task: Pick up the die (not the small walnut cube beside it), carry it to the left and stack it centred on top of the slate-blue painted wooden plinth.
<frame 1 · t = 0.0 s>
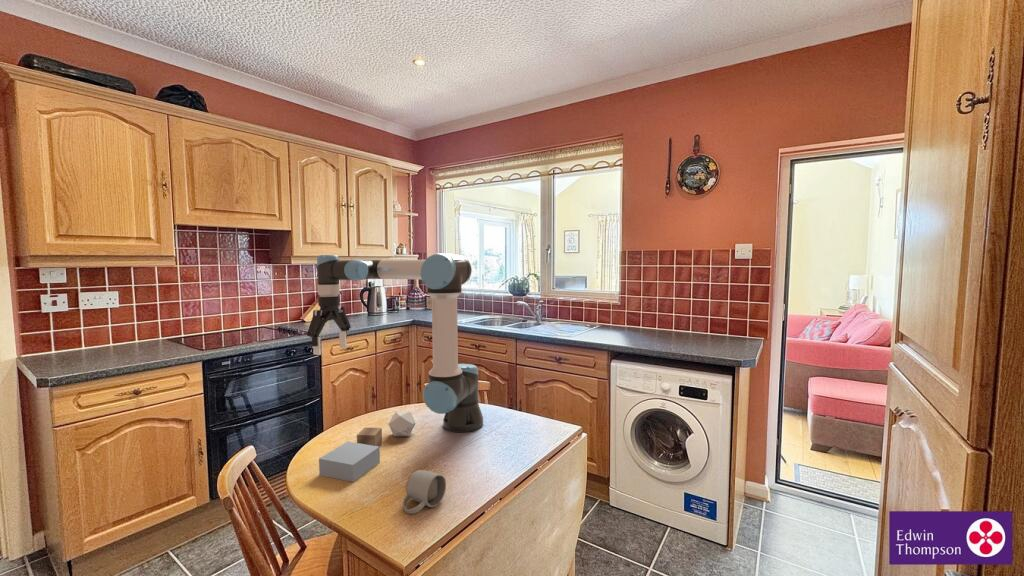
hand: (330, 350, 158), 28 cm above the table, fingers open, 13 cm apart
ceramic mug: (422, 504, 106), on the table
walnut cube: (369, 448, 137), on the table
die: (402, 435, 148), on the table
plinth: (350, 468, 124), on the table
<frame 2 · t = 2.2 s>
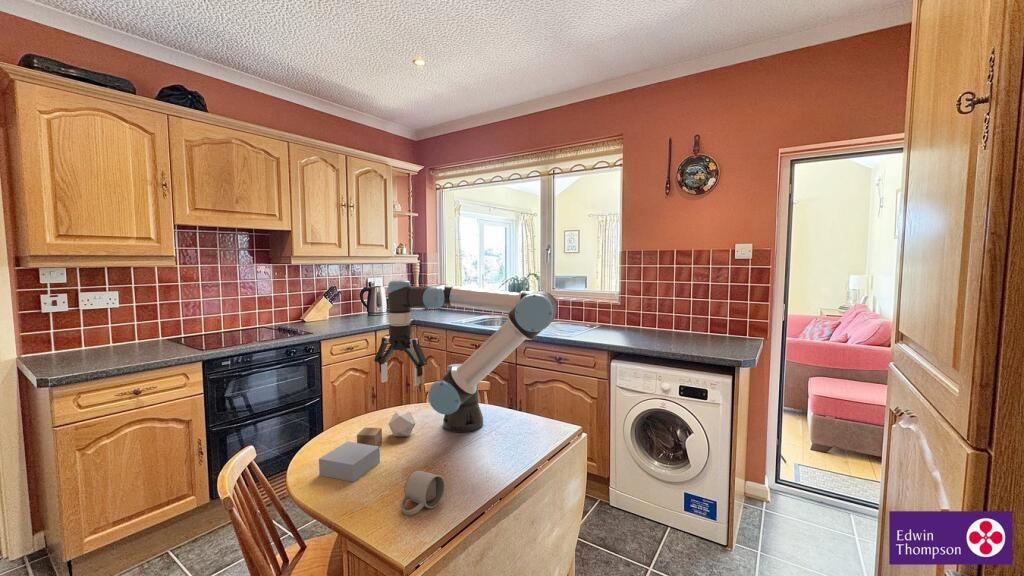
hand: (400, 383, 147), 19 cm above the table, fingers open, 13 cm apart
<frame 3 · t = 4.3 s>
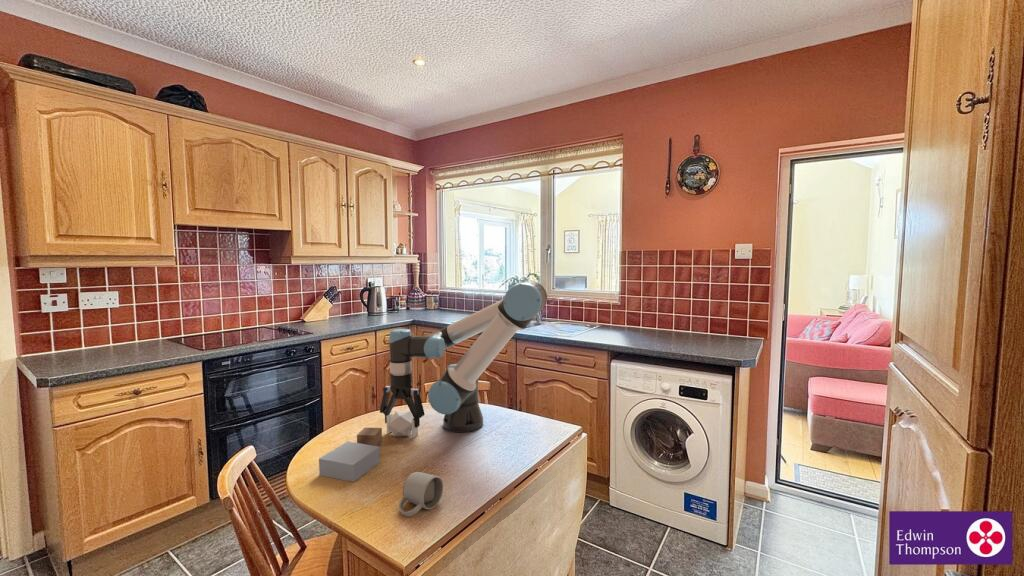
hand: (402, 433, 148), 0 cm above the table, fingers closed on die, 10 cm apart
die: (402, 435, 148), on the table, touching gripper
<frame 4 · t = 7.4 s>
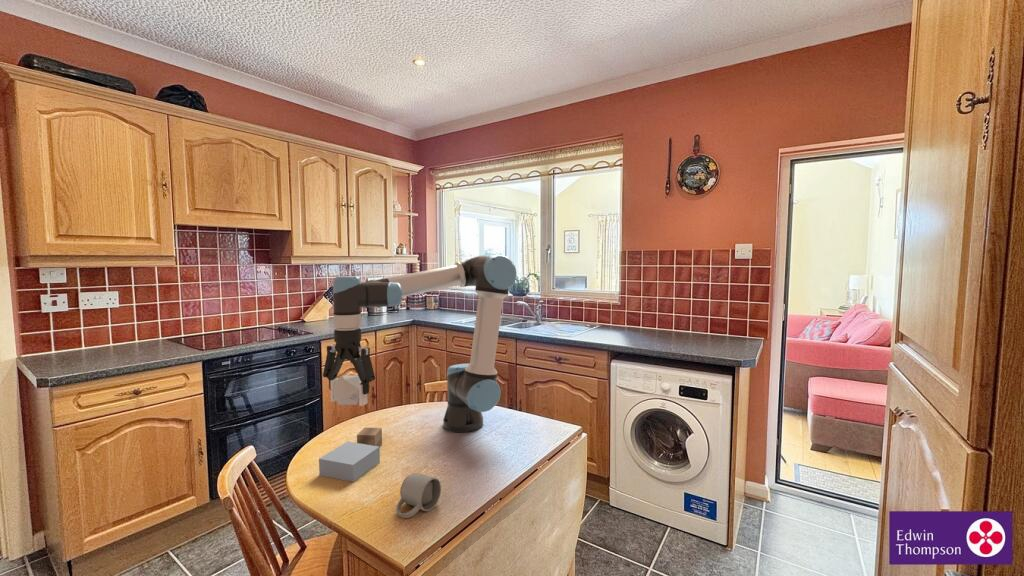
hand: (349, 402, 123), 20 cm above the table, fingers closed on die, 10 cm apart
die: (349, 403, 123), point 20 cm above the table, touching gripper
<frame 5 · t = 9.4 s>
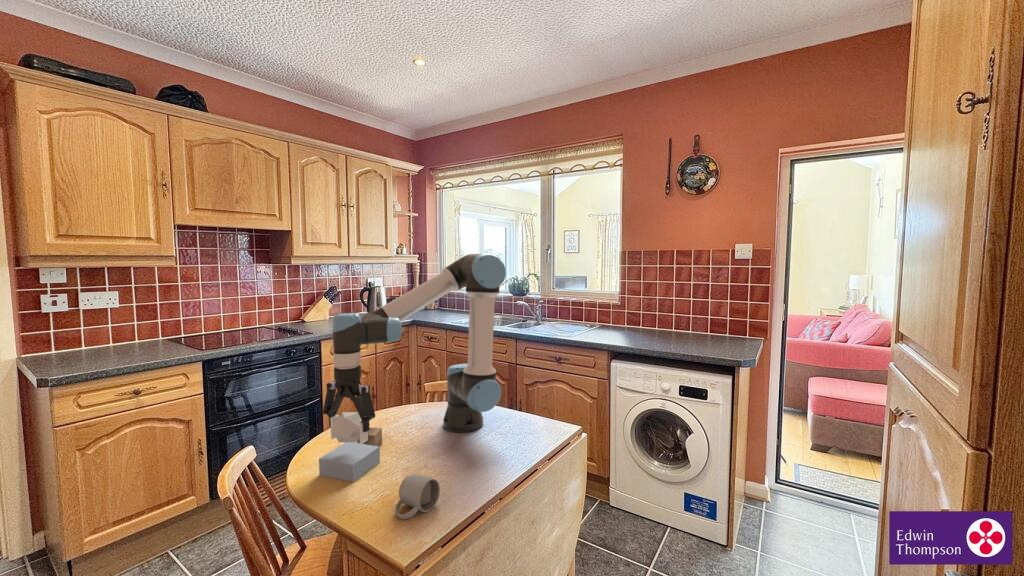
hand: (349, 439, 123), 9 cm above the table, fingers closed on die, 10 cm apart
die: (349, 440, 123), point 9 cm above the table, touching gripper
when the fingers open (7 cm above the table, at t = 10.9 s): die drops 1 cm, resting on plinth.
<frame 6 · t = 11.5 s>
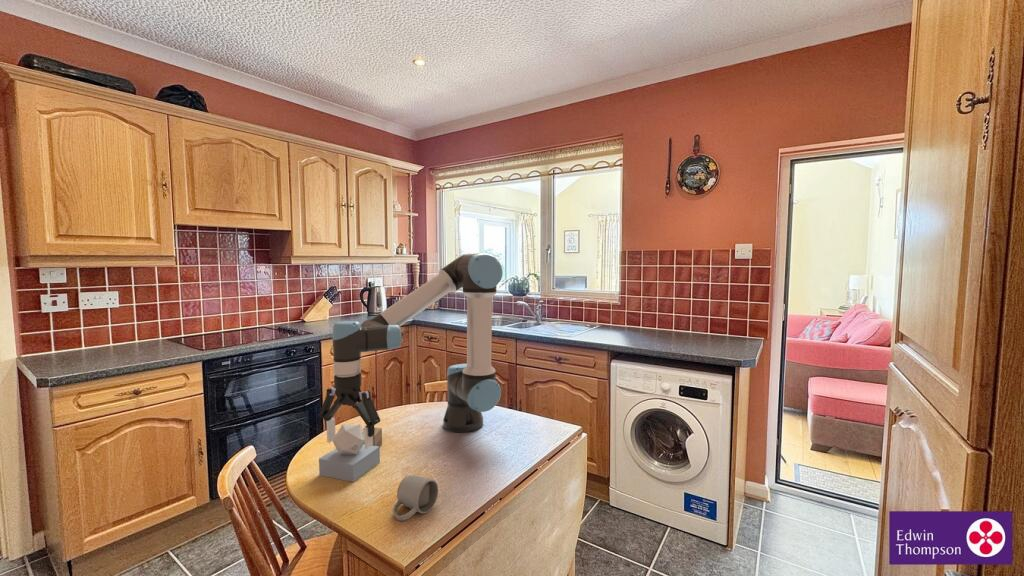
hand: (349, 443, 123), 8 cm above the table, fingers open, 13 cm apart
die: (350, 452, 123), point 5 cm above the table, touching plinth
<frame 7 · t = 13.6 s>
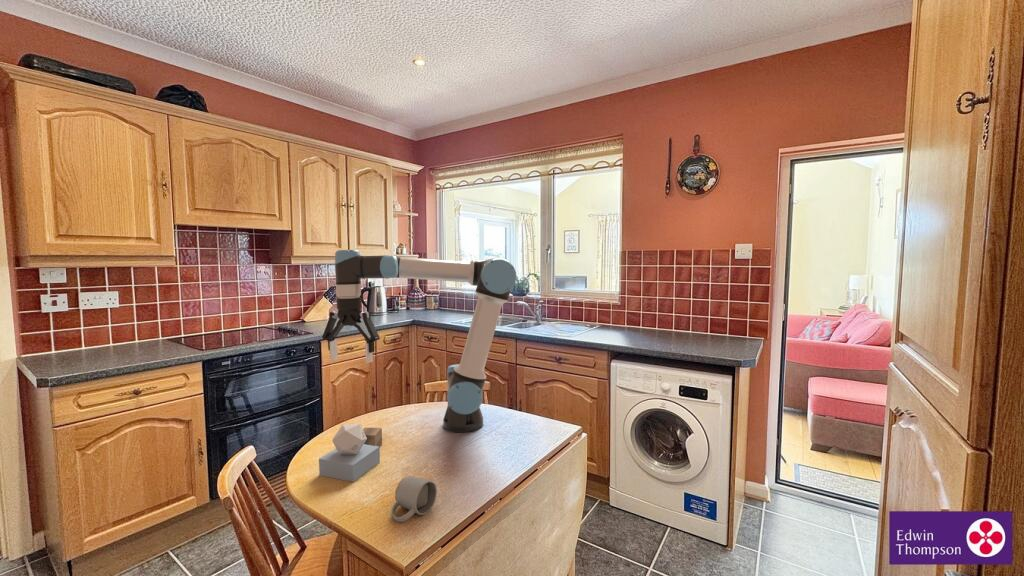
hand: (351, 361, 136), 29 cm above the table, fingers open, 13 cm apart
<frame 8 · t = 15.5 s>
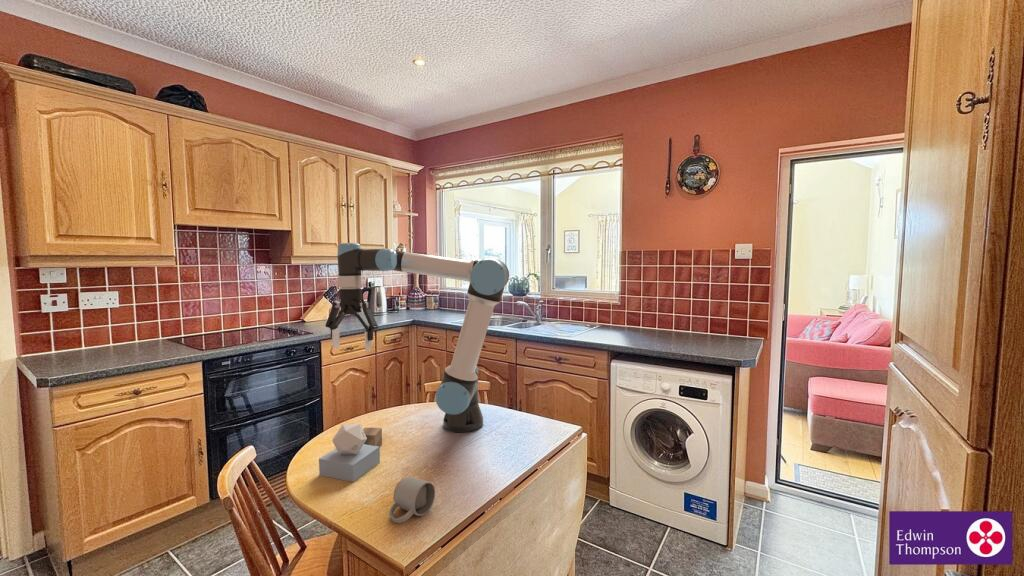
hand: (352, 348, 144), 32 cm above the table, fingers open, 13 cm apart
at the end: die inside the target area on the plinth (0.1 cm from its centre), point 4.8 cm above the plinth's base; die touching plinth; the gripper is holding nothing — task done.
